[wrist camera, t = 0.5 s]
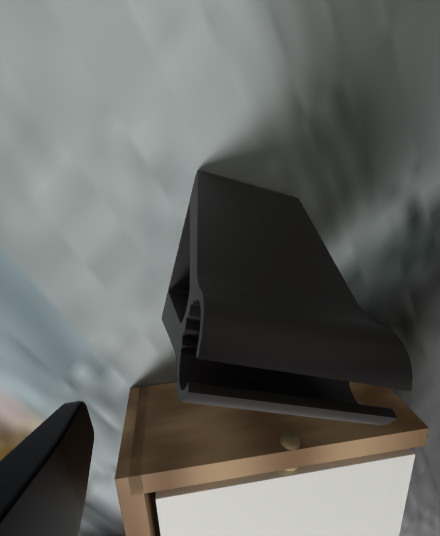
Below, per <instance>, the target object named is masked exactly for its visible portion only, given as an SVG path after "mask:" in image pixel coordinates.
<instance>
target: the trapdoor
mask: <svg viewBox="0 0 440 536" xmlns="http://www.w3.org/2000/svg"><path fill="white" fill-rule="evenodd" d="M414 458H415V453H414V452H413V451H412V450H411V448H408V449H402V450H397V451H391V452H385V453H379V454H373V455H367V456H361V457H356V458H350V459H344V460H338V461H332V462H326V463H321V464H315V465H309V466H303V467H298V468H297V469H296V470H295V471H287V470H280V471H274V472H268V473H262V474H256V475H250V476H245V477H239V478H233V479H227V480H221V481H215V482H209V483H204V484H198V485H192V486H186V487H180V488H174V489H168V490H163V491H157V492H156V506H157V513H158V520H159V527H160V534H161V536H399V533H400V528H401V523H402V518H403V513H404V508H405V503H406V498H407V493H408V488H409V483H410V478H411V473H412V468H413V463H414Z"/></svg>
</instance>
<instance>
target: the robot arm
mask: <svg viewBox="0 0 440 536" xmlns="http://www.w3.org/2000/svg"><path fill="white" fill-rule="evenodd" d="M93 443H94V430H93V426H92V423H91V419H90V416H89V413H88V410H87V406H86V404H85V403H84V402H83V401H76V402H70V403H65V404H63V405H62V406H61V407H60V408H59V409H57V410H56V411H55V412H54V413H53V414H52V415H51V416H50V417H49V418H47V419H46V420H45V421H44V422H43V423H42V424H41V425H40V426H38V427H37V428H36V429H35V430H34V431H33V432H32V433H31V434H30V435H28V436H27V437H26V438H25V439H24V440H23V441H22V442H21V443H20V444H18V445H17V446H16V447H15V448H14V449H13V450H12V451H11V452H10V453H8V454H7V455H6V456H5V457H4V458H3V459H2V460H1V461H0V536H78V533H79V529H80V524H81V520H82V515H83V510H84V504H85V497H86V490H87V484H88V477H89V470H90V463H91V456H92V449H93Z"/></svg>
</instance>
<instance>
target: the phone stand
mask: <svg viewBox="0 0 440 536" xmlns="http://www.w3.org/2000/svg"><path fill="white" fill-rule="evenodd" d="M162 321H163V323H164V326H165V328H166V330H167V333H168V335H169V338H170V340H171V343H172V345H173V348H174V350H175V353H176V358H177V395H178V399H179V401H180V402H186V403H194V404H203V405H211V406H220V407H228V408H237V409H245V410H254V411H262V412H271V413H279V414H288V415H296V416H305V417H313V418H322V419H330V420H339V421H347V422H356V423H364V424H373V425H386V424H389V423H391V422H393V421H394V420H396V419H397V417H396V415H395V413H394V411H393V409H391V408H383V407H376V406H368V405H361V404H358V403H357V401H356V400H355V398H354V396H353V394H352V391H351V388H350V384H349V382H356V383H362V384H369V385H376V386H383V387H389V388H396V389H403V390H409V391H411V388H412V369H411V363H410V359H409V356H408V353H407V351H406V348H405V346H404V345H403V343H402V341H401V340H400V339H399V337H398V336H397V335H396V334H395V333H394V332H393V331H391V330H390V329H388V328H387V327H384V326H382V325H380V324H378V323H376V322H375V321H373V320H372V319H371V318H369V317H368V316H367V315H366V314H365V313H364V312H363V310H362V309H361V308H360V306H359V305H358V303H357V302H356V300H355V298H354V296H353V295H352V293H351V291H350V289H349V288H348V286H347V284H346V282H345V280H344V279H343V277H342V275H341V273H340V272H339V270H338V268H337V266H336V264H335V263H334V261H333V259H332V257H331V256H330V254H329V252H328V250H327V248H326V247H325V245H324V243H323V241H322V240H321V238H320V236H319V234H318V232H317V231H316V229H315V227H314V225H313V224H312V222H311V220H310V218H309V216H308V215H307V213H306V211H305V209H304V208H303V206H302V204H301V202H300V200H299V199H298V198H295V197H292V196H288V195H285V194H281V193H278V192H274V191H270V190H267V189H263V188H260V187H256V186H253V185H249V184H246V183H242V182H238V181H235V180H231V179H228V178H224V177H221V176H217V175H213V174H210V173H206V172H203V171H199V170H197V173H196V177H195V181H194V185H193V189H192V193H191V198H190V202H189V206H188V210H187V214H186V218H185V223H184V227H183V231H182V235H181V239H180V243H179V249H178V252H177V256H176V260H175V264H174V268H173V273H172V277H171V281H170V285H169V289H168V293H167V298H166V302H165V306H164V310H163V315H162Z"/></svg>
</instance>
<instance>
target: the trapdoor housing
mask: <svg viewBox="0 0 440 536" xmlns="http://www.w3.org/2000/svg"><path fill="white" fill-rule="evenodd" d="M349 384H350V388H351V391H352V394H353V396H354V398H355V400H356V401H357V403H358V404H361V405H368V406H376V407H383V408H391V409H393V411H394V413H395V415H396V417H397V419H396V420H394V421H393V422H391V423H389V424H386V425H373V424H364V423H356V422H347V421H339V420H330V419H322V418H313V417H305V416H296V415H288V414H279V413H271V412H262V411H254V410H245V409H237V408H228V407H220V406H211V405H203V404H194V403H186V402H180V401H179V399H178V395H177V382H172V383H164V384H157V385H149V386H141V387H133V388H130V393H129V399H128V405H127V411H126V417H125V423H124V428H123V434H122V440H121V446H120V452H119V458H118V464H117V470H116V476H115V483H116V488H117V493H118V498H119V504H120V509H121V514H122V519H123V524H124V530H125V535H126V536H161V534H160V527H159V520H158V513H157V506H156V492H157V491H163V490H168V489H174V488H180V487H186V486H192V485H198V484H204V483H209V482H215V481H221V480H227V479H233V478H239V477H245V476H250V475H256V474H262V473H268V472H274V471H280V470H287V471H295V470H296V469H297V468H298V467H303V466H309V465H315V464H321V463H326V462H332V461H338V460H344V459H350V458H356V457H361V456H367V455H373V454H379V453H385V452H391V451H397V450H402V449H408V448H414V447H420V446H425V444H426V439H427V434H428V430H429V428H428V427H427V426H426V425H425V424H424V423H423V422H422V421H421V420H420V419H419V418H418V417H417V416H416V415H415V413H414V412H413V411H412V410H411V409H410V408H409V407H408V406H407V405H406V404H405V403H404V402H403V401H402V400H401V399H400V398H399V397H398V396H397V395H396V394H395V393H394V392H393V391H392V390H391V389H390V388H389V387H383V386H376V385H369V384H362V383H356V382H349Z"/></svg>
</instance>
